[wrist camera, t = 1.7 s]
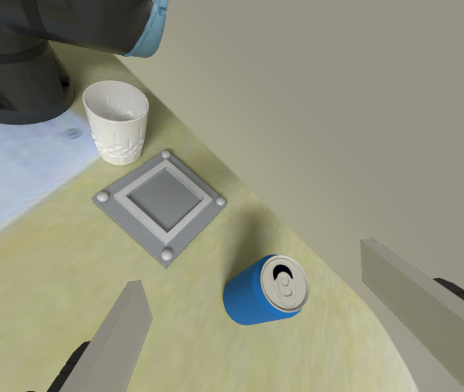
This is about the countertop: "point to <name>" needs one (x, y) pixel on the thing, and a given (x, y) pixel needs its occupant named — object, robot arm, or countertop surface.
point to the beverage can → (267, 291)
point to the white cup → (117, 120)
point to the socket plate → (161, 206)
